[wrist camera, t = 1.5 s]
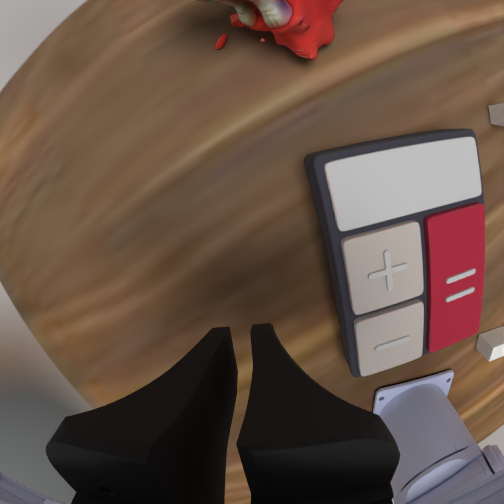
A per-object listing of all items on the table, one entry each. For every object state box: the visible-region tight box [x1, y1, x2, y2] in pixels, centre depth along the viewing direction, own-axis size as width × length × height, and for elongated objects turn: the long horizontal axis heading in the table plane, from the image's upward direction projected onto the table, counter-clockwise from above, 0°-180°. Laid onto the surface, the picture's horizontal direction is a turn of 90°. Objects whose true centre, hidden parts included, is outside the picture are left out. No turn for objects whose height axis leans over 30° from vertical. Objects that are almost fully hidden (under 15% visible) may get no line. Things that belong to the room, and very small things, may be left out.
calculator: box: [304, 129, 485, 377], centre depth 18 cm, size 11×4×15 cm
